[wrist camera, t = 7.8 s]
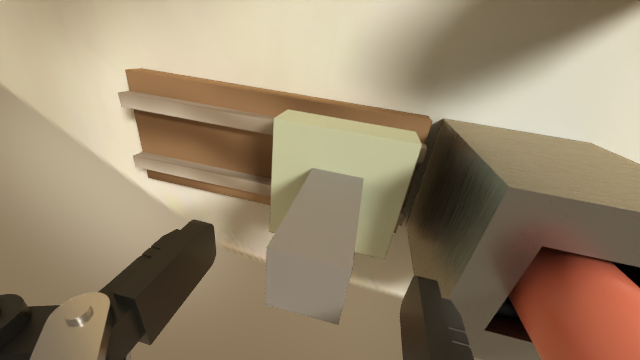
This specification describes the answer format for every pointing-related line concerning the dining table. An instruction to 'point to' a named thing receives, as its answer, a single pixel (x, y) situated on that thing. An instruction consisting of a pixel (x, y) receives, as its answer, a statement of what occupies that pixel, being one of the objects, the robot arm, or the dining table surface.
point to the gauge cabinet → (516, 221)
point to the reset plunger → (578, 307)
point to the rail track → (230, 130)
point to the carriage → (331, 205)
